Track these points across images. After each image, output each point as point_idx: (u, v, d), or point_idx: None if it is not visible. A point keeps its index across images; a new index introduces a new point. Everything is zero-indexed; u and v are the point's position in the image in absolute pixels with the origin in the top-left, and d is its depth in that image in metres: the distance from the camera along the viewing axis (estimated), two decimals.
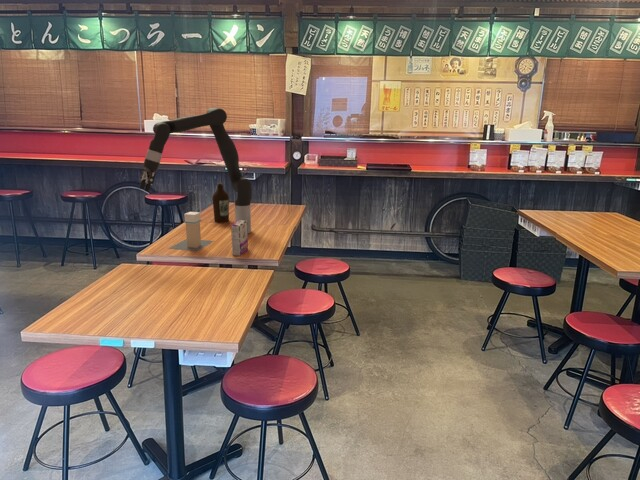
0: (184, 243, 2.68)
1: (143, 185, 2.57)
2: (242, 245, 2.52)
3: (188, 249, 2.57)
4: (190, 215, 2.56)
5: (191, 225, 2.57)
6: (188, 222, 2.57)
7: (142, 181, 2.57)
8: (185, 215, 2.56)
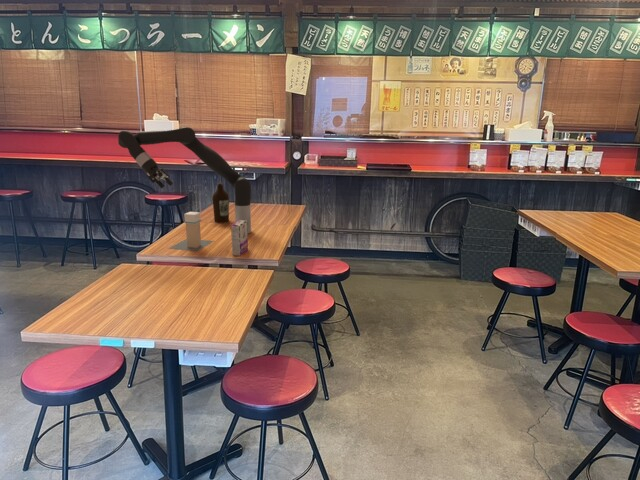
0: (184, 243, 2.68)
1: (169, 182, 2.61)
2: (242, 245, 2.52)
3: (188, 249, 2.57)
4: (190, 215, 2.56)
5: (191, 225, 2.57)
6: (188, 222, 2.57)
7: (166, 180, 2.61)
8: (185, 215, 2.56)
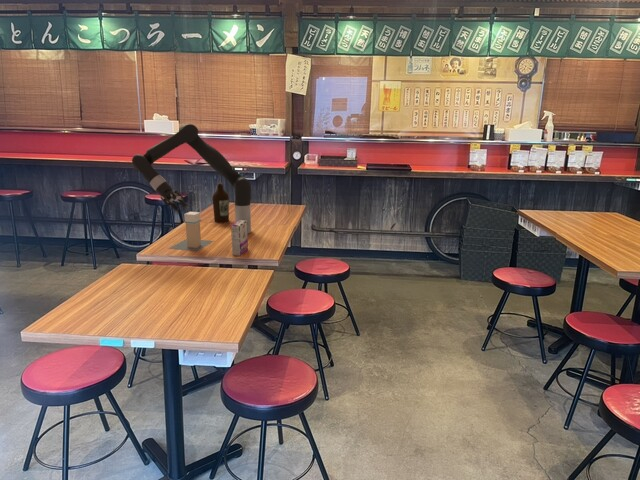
0: (184, 243, 2.68)
1: (183, 203, 2.63)
2: (242, 245, 2.52)
3: (188, 249, 2.57)
4: (190, 215, 2.56)
5: (191, 225, 2.57)
6: (188, 222, 2.57)
7: (180, 202, 2.63)
8: (185, 215, 2.56)
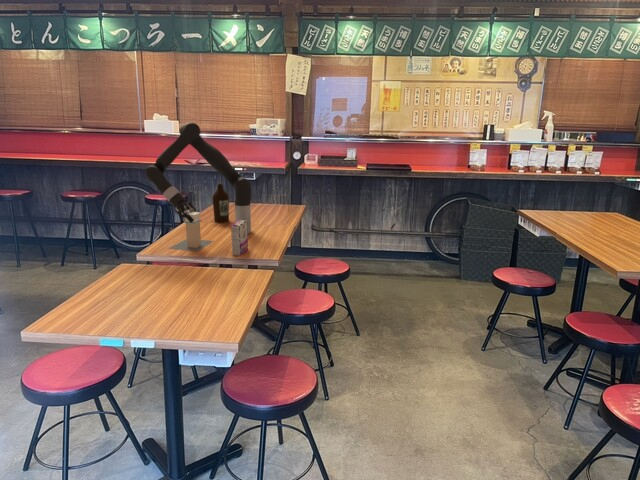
0: (184, 243, 2.68)
1: None
2: (242, 245, 2.52)
3: (188, 249, 2.57)
4: (190, 215, 2.56)
5: (191, 225, 2.57)
6: (188, 222, 2.57)
7: None
8: None
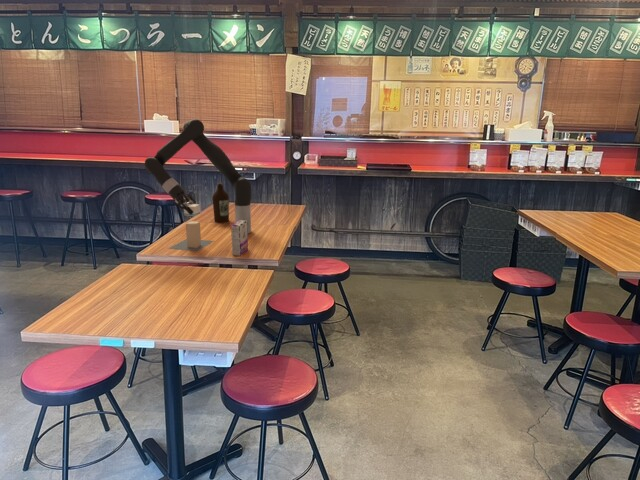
0: (184, 243, 2.68)
1: None
2: (242, 245, 2.52)
3: (188, 249, 2.57)
4: (190, 207, 2.54)
5: (191, 225, 2.57)
6: (187, 214, 2.56)
7: None
8: None
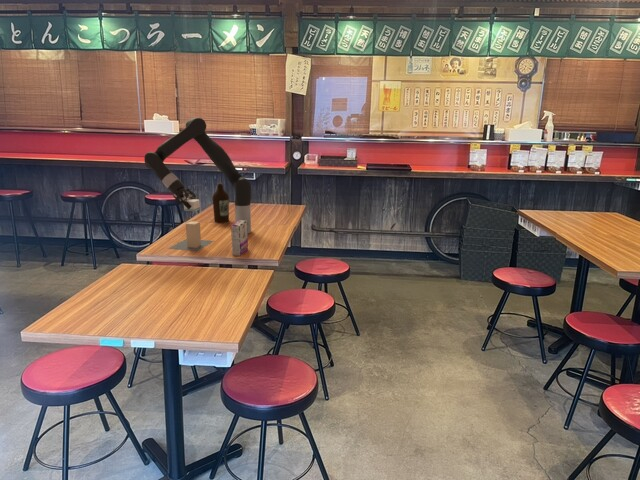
0: (184, 243, 2.68)
1: None
2: (242, 245, 2.52)
3: (188, 249, 2.57)
4: (189, 202, 2.54)
5: (191, 225, 2.57)
6: (187, 209, 2.55)
7: None
8: None
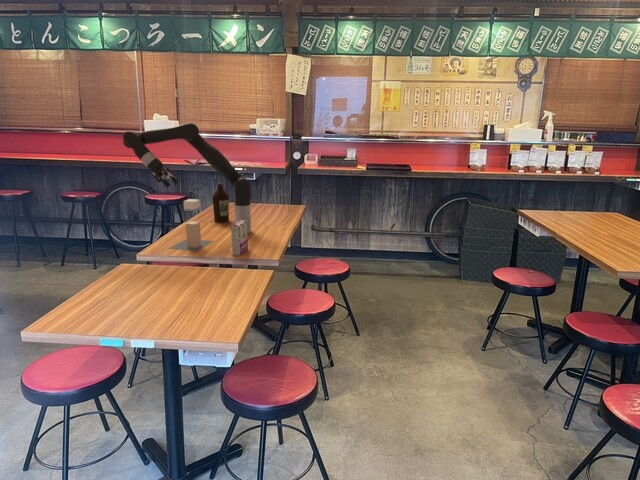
0: (184, 243, 2.68)
1: (174, 180, 2.63)
2: (242, 245, 2.52)
3: (188, 249, 2.57)
4: (189, 202, 2.54)
5: (191, 225, 2.57)
6: (187, 209, 2.55)
7: (171, 179, 2.63)
8: (184, 202, 2.54)
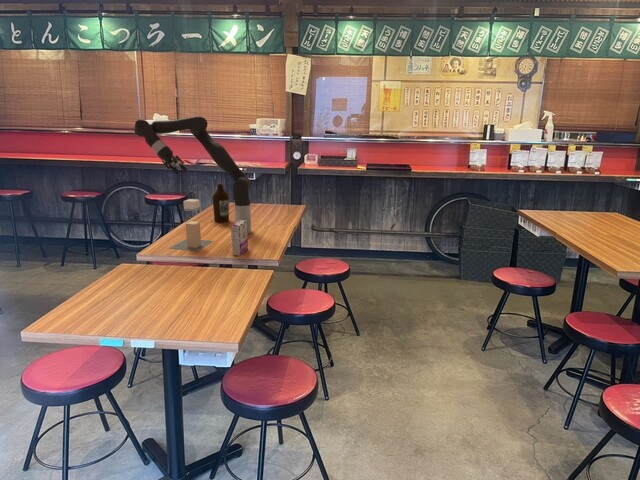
0: (184, 243, 2.68)
1: (183, 168, 2.71)
2: (242, 245, 2.52)
3: (188, 249, 2.57)
4: (189, 202, 2.54)
5: (191, 225, 2.57)
6: (187, 209, 2.55)
7: (180, 166, 2.72)
8: (184, 202, 2.54)
